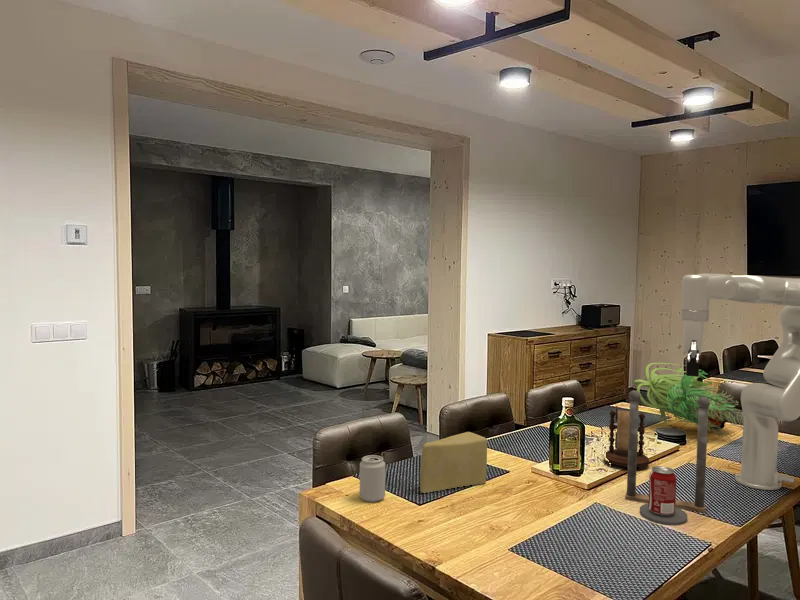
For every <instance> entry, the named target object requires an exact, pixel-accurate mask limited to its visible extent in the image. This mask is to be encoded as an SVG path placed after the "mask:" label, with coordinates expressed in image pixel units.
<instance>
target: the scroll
mask: <svg viewBox="0 0 800 600" xmlns="http://www.w3.org/2000/svg"><path fill="white" fill-rule="evenodd" d="M629 413H630V410H629V411H628V410H620V409H619V410H618V405H616V406H615V411H614V410H610V411H609V415H610V416H609V418H610V420H609V425H608V428H609V431H610V432H609V437H608V441H609V443H608V444H609V447H608V450H606V451H607V452H606V451H605V452H606V458H607V459H608V460H609V462H608V464H609V463H612V465H616V466H620V467H626V468H628V443H629ZM644 414H645V413H639V414H638V419H639V421H640V422H639V423H638V433H639V434H638V437H637V466H636V468H638V470H639V471H641V470H642V469H643V467H646V466H648V465H649V463H650V458H649V457H648V456H646V455H645V454H644V453H645V452H644V445H645V441H644V438H645V437H644V435H645V431H646V430H645V419H646V414H645V415H644ZM615 422H616V425H615ZM615 430H616V432H614V431H615Z"/></svg>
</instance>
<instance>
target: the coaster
mask: <svg viewBox="0 0 800 600" xmlns="http://www.w3.org/2000/svg"><path fill="white" fill-rule="evenodd" d="M639 514H640V516H641V517H642V518H644V519H645V520H648V521H649V522H653V523H656V524H661V525H667V526H677V525H678V526H679V525H684V524H685V523H687V521H688V513H687V512H685V510H684V509H679V508H677V507H675V513H674V514H673V515H670V516H660V515H656V514H654V513H653V512H651V511H650V510H649V509H648V503H644V504H642V505H640V507H639Z"/></svg>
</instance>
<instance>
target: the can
mask: <svg viewBox="0 0 800 600" xmlns="http://www.w3.org/2000/svg"><path fill="white" fill-rule="evenodd" d="M359 497H360V498H361V499H362V500H363V501H364V502H367V503H377V501H378V502H380V501H382V500H383V499H384V498H385V497H386V462H385V460H384V458H383V456H380V455H376V454H375V455H374V454H373V455H372V454H370V455H365V456H363V457H362V458H361V461H360V463H359Z"/></svg>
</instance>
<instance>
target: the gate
mask: <svg viewBox="0 0 800 600" xmlns="http://www.w3.org/2000/svg"><path fill="white" fill-rule="evenodd" d="M640 394H641V392H640V393H639V392H638V391H637V389H636V390H635V389H633V390H631V391H629V393H628V398H629V411H630V413H629V443H628V467H627V472H626V473H627V474H626V476H627V477H626V478H627V479H626V492H625V495H624V500H627V501H632V502H637V503H644V504H648V502H649V494H641V493H637V492H636V491H637V489H636V488H637V487H636V486H637V467H636V466H637V452H638V450H637V437H638V438H639V434H638V433H639V432H638V428H639V414H638V413H639V409H640V405H639V402H640V400H641V399H640ZM710 400H711V399H708V398H707V397H700V398H699V399H698V401H697V404H698V406H699V411H698V425H697V435H696V436H697V437H696V438H697V441H696V460H695V462H696V463H695V465H696V466H695V483H694V484H695V485H694V486H695V490H694V491H695V492H694V502H691V501H684V500H678V499H676V504H675V507H677V508H679V509H681V510H684V511H685V510H686V511H692V512H693V511H694V512H698V513H702V514H703V513H704V514H705V513H706V504H705V497H706V496H705V495H706V493H705V492H706V471H707V470H706V469H707V468H706V467H707V446H708V428H707V427H708V407H709V405H711V404H710Z"/></svg>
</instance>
